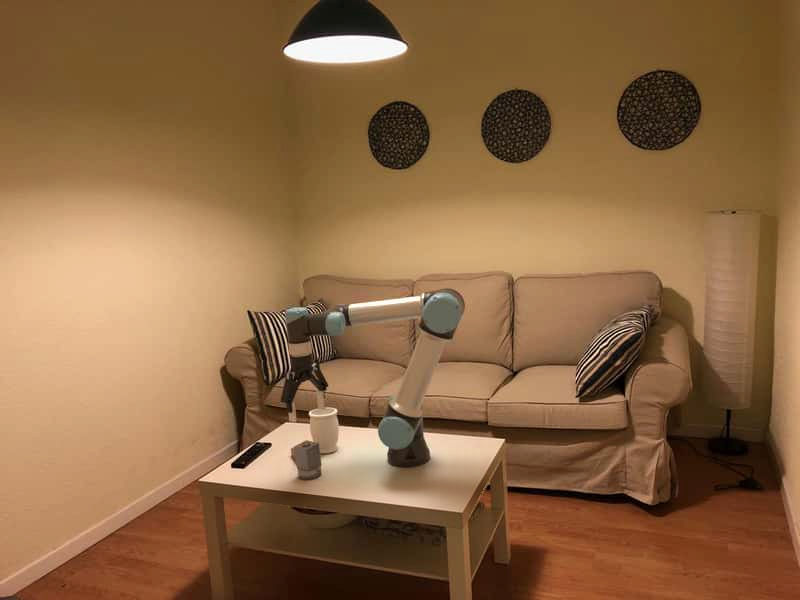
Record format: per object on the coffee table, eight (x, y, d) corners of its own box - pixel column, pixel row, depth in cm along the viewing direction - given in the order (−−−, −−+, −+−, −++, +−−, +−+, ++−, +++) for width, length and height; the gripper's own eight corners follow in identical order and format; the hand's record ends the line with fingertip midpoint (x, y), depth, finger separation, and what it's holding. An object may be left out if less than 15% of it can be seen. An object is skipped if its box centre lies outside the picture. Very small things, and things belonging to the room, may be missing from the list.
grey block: (321, 465, 235) (318, 442, 233) (309, 472, 230) (305, 449, 229) (309, 461, 239) (306, 439, 237) (296, 468, 234) (293, 445, 232)
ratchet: (324, 477, 233) (322, 457, 232) (301, 482, 230) (299, 462, 229) (306, 452, 257) (304, 434, 256) (285, 456, 254) (283, 438, 253)
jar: (343, 444, 262) (339, 406, 260) (337, 454, 252) (334, 415, 250) (315, 445, 263) (312, 407, 261) (309, 455, 253) (305, 416, 251)
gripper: (318, 344, 242) (325, 403, 245) (264, 362, 222) (272, 425, 226) (334, 346, 237) (340, 405, 240) (280, 364, 218) (288, 428, 221)
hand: (307, 415), depth 233 cm, fingers open, 13 cm apart
